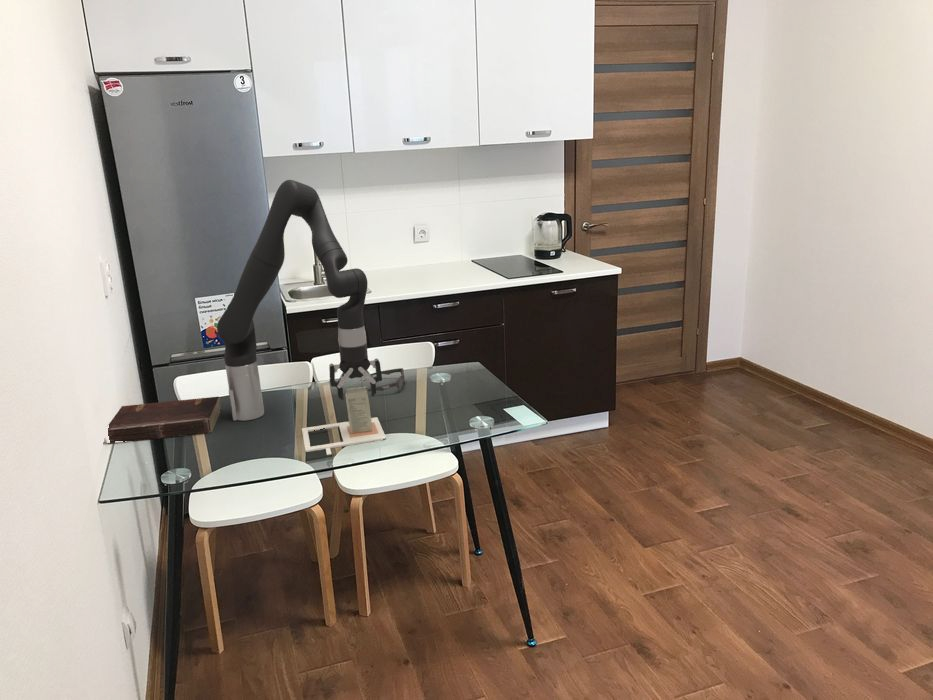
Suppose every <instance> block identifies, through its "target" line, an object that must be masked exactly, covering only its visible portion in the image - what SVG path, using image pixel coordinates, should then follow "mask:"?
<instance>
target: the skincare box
mask: <svg viewBox="0 0 933 700" xmlns="http://www.w3.org/2000/svg"><path fill="white" fill-rule="evenodd" d="M367 389H368V386H359V387H350V388H345V391H344V394H345V395H344V396H345V402H346V403H345V404H346V411H347V418H348V421H349V426H350V433H359V432H367V431H372V422H371V418H372V415H371V408H370V407H371V406H370V399H369V393H368V392H369V391H367Z"/></svg>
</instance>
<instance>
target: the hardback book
mask: <svg viewBox="0 0 933 700" xmlns="http://www.w3.org/2000/svg"><path fill="white" fill-rule="evenodd" d="M221 407H222V405H221V401H220V396H218V395H217V396H209V397H200V398H191V399H190V398H189V399H181V400H171V401H162V402H161V401H160V402H151V403H149V402H148V403H138V404H132V405H131V404H130V405H129V404H128V405H122V406H121V407H120V408H119V409H118V411H117V412H116V414H115V415H114V417H112V419H111V421H110V422H109V423H108V425H109V428H108V436H109V440H110V444H109V445H111V444H112V445H114V443H115V441H123V442H124V443H126V442H125V441H133V442H140V441H142V442H143V441H151V440H160V439H161V440H162V439H169V437H171V438H175V437H174V436H179V435H189V436H196V435H197V436H198V435H199V436H200V435H206V434H212V433H213V431H214V428H215V425H216V423H217V421H218V419H219V417H220V414H221V412H220V409H221V410H222V408H221ZM219 413H220V414H219ZM115 444H116V443H115Z"/></svg>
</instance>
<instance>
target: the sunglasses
mask: <svg viewBox="0 0 933 700" xmlns="http://www.w3.org/2000/svg"><path fill="white" fill-rule="evenodd" d="M395 373H400V374H401V375H400V376H399V378H398V379H396V381H395V382H391V383H388V384H384V385H380V386H379V385H378V386H376V391H379V392H380V391H381V392H383V391H385V390H387V389H391V388H393V387H396V388H397V391H398V392H401V391H402V390H403V388H402V387H404V384H403V383H405V372H404V368H401V367H399V368H391V369H386V370H381V374H382V375H391V374H395ZM370 374H371V375H372V376H376V372H373V373H370ZM360 380H364V381H366V380H368V379H367V378H366V377H365V376H363V377H362V378H361V379H360ZM367 391H368V392H371V389H370V388H367Z"/></svg>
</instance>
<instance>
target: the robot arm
mask: <svg viewBox="0 0 933 700" xmlns="http://www.w3.org/2000/svg"><path fill="white" fill-rule="evenodd" d="M292 215H293V216H295V217H300V218H302V220H303V221H304V222H305V223H306V224H307V226H308V227H309V229H310V231H311V244H312V248H313V251H314V253H315V256H316V258H317V259H318V261H319V263H320V265H321V266H322V268H323V272H324V276H325V280H326V285H327V289H328V292H329V293H330V294H331V295H332V296H333V297H335V298H337V299H342V298H347V297H349V298H348V301H346V302H345V303H343V304H341V305H339V306H338V307H337V310H336V316H337V329H338V332H337V334H338V335H337V342H338V348H339V358H340V360H339V361H340V362H339V364H334V363H330V364H329V366H328V367H329V369H328V370H329V384H330V387H332V388H336V389H337V397H338V399H339V400H341V401H344V400H345V399H344V389H343V385H344V384H345V383H346V381H348V379H351V380H352V379H356V378H357V379H358V378H361V379H362V378H363V377H366V378H367V379H366V380H368V381H369V385H370V386H369V389H371V391H370V395H371V398H373V397H375V395H376V394H377V390H376V387H377V383H379V382H382V380H383V376H382V375H383V374H381V371H382V368H381V362H380V360H379V358H375V359H373V360H370V359H369V355H368V343H367V333H366V327H365V318H364V308H365V301H366V296H367V292H368V285H369V284H368V278H367V275H366V273H365V272H364V271H363V270H362V269H360V268H350V269H344V268H345V267H346V266H347V264H348V256H347V254H346V252H345V250H344V249H343V247H342V245H341V244H340V242H339V240H338V239H337V237H336V235H335V234H334V231H333V230H332V228H331V227H332V226H331V225H330V223H329V220H328V217H327V215H326V212H325V209H324V206H323V203H322V201H321V198H320V196H319V194H318V192H317V190H315V188H313V187H312V186H310V185H308V184H305V183H302V182H299V181H298V180H293V179H286V180H284V181H283V182H282V183H281V184H280V185H279V187H278V188H277V190H276V192H275V194H274V197H273V200H272V203H271V206H270V208H269V211H268V214H267V217H266V220H265V222H264V224H263V227H262V230H261V231H260V233H259V237H258V239H257V240H256V243H255V245H254V246H253V248H252V251H251V253H250V255H249V256H248V259H247V261H246V264H245V265H244V268H243V270H242V273H241V275H240V278H239V281H238V283H237V286H236V290H235V292H234V294H233V297H232V298H231V300H230V302H229V303H228V305H227V307H226V309H225V311H224V312H223V314H222V315H221V317H220V318H219V319H218V322H217V325H216V332H217V335H218V337H219V339H220V340H221V341H222V342H224V345H225V346H224V355H223V360H224V366H225V372H226V377H227V385H228V397H229V403H230V409H231V414H232V415H231V416H232V420H233V421H243V422H245V421H252V420H256V419H259V418H261V417H263V416H264V415H265V406H264V402H263V401H264V399H263V393H262V388H261V386H262V385H261V382H260V381H261V380H260V379H261V378H260V373H259V367H258V359H257V348H258V347H257V337H256V329H255V323H254V316H255V314H256V311H257V309H258V307H259V305H260V304H261V302H262V300H263V299H264V298H265V297H266V295H267V294H268V292H269V291H270V288H272V286H273V284H274V283H275V281H276V279H277V277H278V275H279V273H280V271H281V269H282V267H283V264H284V262H285V258H286V257H285V254H286V253H285V241H284V240H285V239H284V235H285V229H286V227H287V225H288V222H289V220H290V219H291V216H292ZM342 269H344V270H342ZM370 366H372V368H373V369H375V373H376V375H371V374H372V373H371V372H369V371H368V369H369V368H370ZM339 370H340V371H341V372H342V373H341V375H340V377H339V378H338V380H336V378H335V377H336V376H335V375H336V373H337V372H338V371H339Z"/></svg>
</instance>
